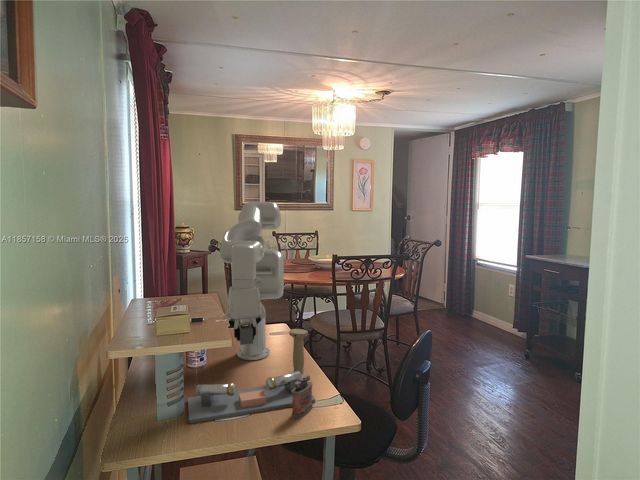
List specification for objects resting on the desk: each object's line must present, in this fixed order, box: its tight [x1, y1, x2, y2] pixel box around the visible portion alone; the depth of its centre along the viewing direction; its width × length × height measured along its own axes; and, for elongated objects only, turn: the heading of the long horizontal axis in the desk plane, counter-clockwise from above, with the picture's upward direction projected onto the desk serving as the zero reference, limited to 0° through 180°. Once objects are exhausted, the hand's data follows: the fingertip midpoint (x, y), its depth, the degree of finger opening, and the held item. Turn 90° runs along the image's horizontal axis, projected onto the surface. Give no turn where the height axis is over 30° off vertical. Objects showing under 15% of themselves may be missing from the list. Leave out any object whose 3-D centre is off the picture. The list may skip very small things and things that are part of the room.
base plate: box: [187, 385, 316, 424], centre depth 123 cm, size 13×36×3 cm, turn 109°
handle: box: [288, 328, 308, 375], centre depth 143 cm, size 5×6×15 cm
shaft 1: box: [195, 382, 236, 407], centre depth 121 cm, size 11×4×7 cm, turn 94°
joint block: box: [238, 322, 253, 346], centre depth 132 cm, size 4×6×6 cm, turn 19°
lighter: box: [291, 374, 313, 420], centre depth 117 cm, size 8×3×10 cm, turn 147°
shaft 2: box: [265, 371, 303, 394], centre depth 127 cm, size 11×4×7 cm, turn 124°
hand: (245, 338), depth 133 cm, fingers closed on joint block, 4 cm apart
